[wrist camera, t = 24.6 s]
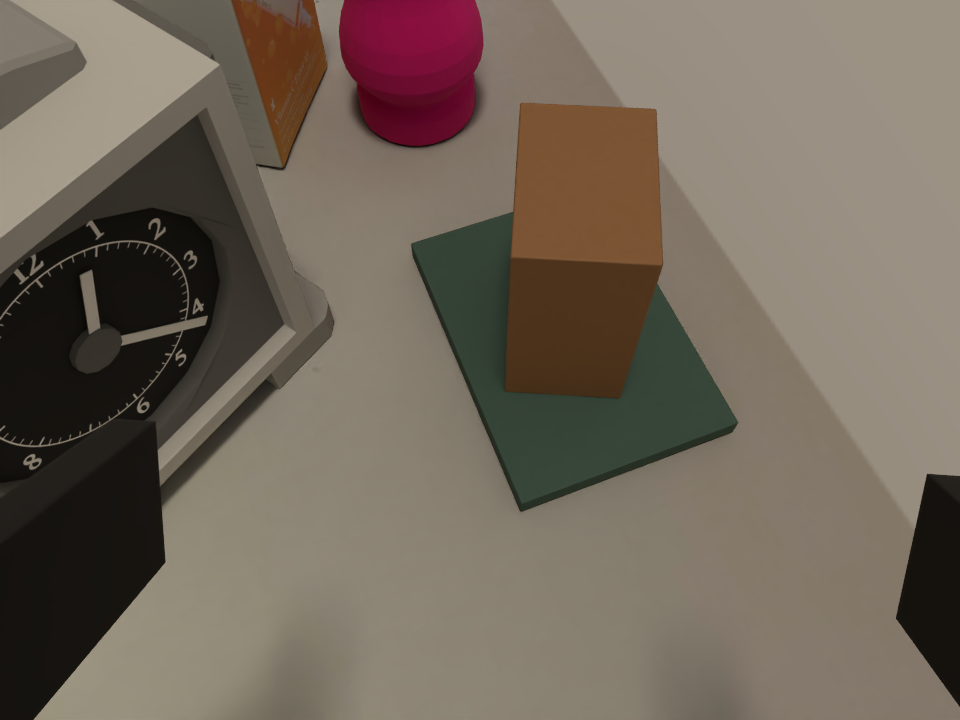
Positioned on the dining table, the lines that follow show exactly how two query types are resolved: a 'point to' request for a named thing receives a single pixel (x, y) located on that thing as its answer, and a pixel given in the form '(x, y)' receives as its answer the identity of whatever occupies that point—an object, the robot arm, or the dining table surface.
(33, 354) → the alarm clock
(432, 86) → the pepper mill
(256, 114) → the small box
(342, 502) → the dining table surface
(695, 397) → the mat
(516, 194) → the brown packet
